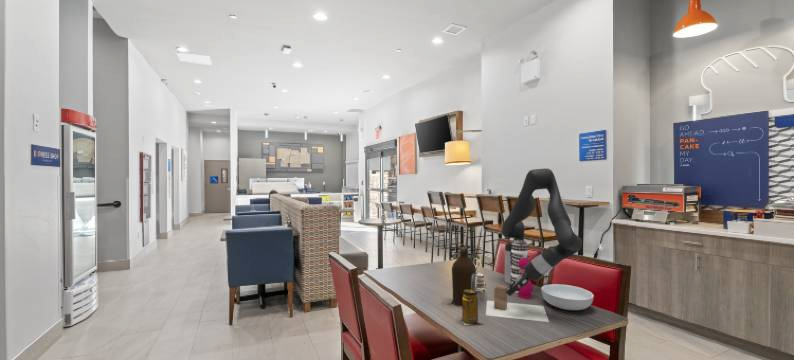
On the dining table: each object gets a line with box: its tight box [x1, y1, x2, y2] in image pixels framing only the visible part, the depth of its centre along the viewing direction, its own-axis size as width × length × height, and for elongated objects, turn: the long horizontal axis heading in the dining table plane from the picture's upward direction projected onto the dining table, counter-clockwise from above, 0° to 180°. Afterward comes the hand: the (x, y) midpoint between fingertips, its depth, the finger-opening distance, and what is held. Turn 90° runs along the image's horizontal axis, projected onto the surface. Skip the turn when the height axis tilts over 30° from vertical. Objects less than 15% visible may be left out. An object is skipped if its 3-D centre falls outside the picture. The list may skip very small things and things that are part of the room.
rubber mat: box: [485, 300, 550, 323], centre depth 153 cm, size 18×24×1 cm
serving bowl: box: [540, 283, 595, 311], centre depth 160 cm, size 21×21×7 cm
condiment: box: [460, 289, 483, 326], centre depth 142 cm, size 7×8×12 cm
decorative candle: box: [509, 239, 530, 294], centre depth 181 cm, size 9×9×25 cm
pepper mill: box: [517, 255, 534, 300], centre depth 171 cm, size 7×7×20 cm
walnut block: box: [493, 285, 508, 311], centre depth 156 cm, size 4×5×9 cm
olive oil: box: [451, 246, 477, 307], centre depth 162 cm, size 11×11×25 cm
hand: (509, 291), depth 154 cm, fingers open, 8 cm apart
